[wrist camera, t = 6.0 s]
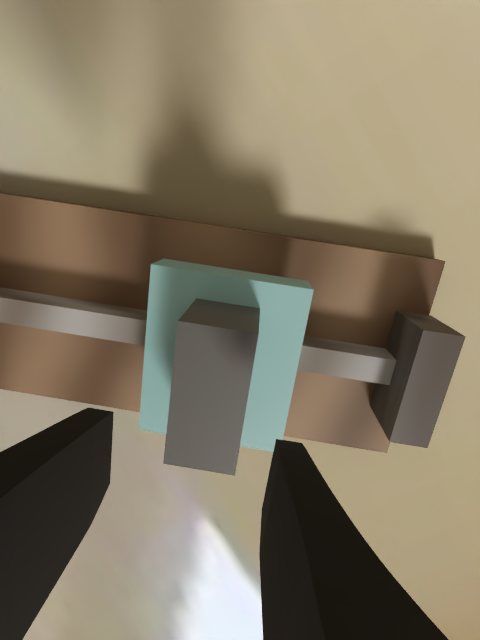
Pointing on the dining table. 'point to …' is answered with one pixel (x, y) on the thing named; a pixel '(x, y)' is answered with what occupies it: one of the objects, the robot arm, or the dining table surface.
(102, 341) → the rail board
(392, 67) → the dining table surface
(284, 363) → the carriage
